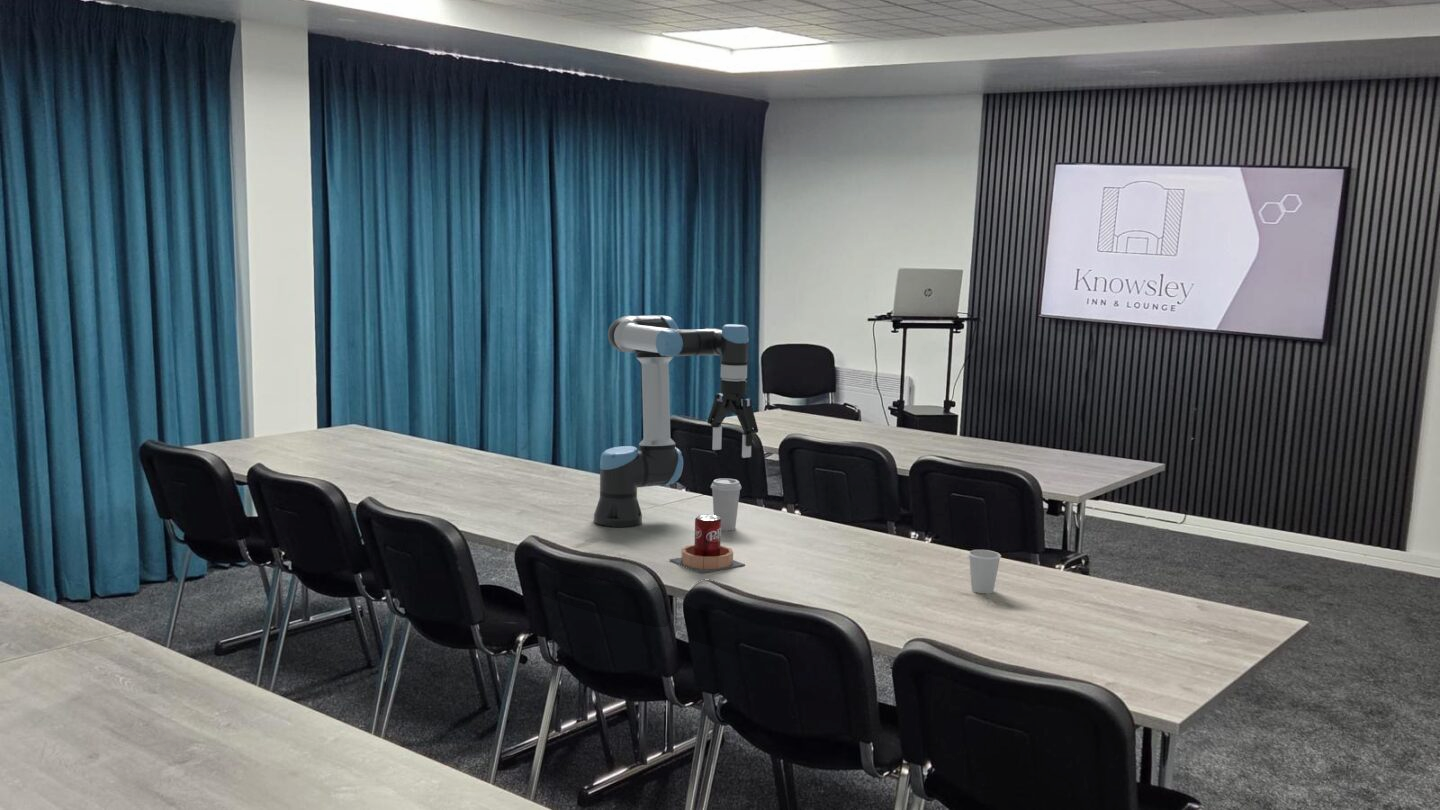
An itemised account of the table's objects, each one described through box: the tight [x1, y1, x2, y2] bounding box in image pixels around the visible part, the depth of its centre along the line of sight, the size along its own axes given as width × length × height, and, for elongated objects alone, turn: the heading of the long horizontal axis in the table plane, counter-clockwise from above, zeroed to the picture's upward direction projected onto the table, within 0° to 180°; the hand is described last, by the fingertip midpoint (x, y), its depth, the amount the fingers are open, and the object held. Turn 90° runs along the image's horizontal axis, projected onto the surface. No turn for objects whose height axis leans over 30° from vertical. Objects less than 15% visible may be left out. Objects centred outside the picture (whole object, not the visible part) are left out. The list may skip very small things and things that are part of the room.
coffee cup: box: [710, 478, 742, 532], centre depth 369 cm, size 10×10×15 cm
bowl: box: [668, 544, 746, 575], centre depth 329 cm, size 15×15×4 cm
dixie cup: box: [968, 549, 1002, 595], centre depth 311 cm, size 8×8×10 cm
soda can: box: [693, 514, 722, 556], centre depth 328 cm, size 7×7×12 cm
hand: (731, 453), depth 339 cm, fingers open, 13 cm apart
